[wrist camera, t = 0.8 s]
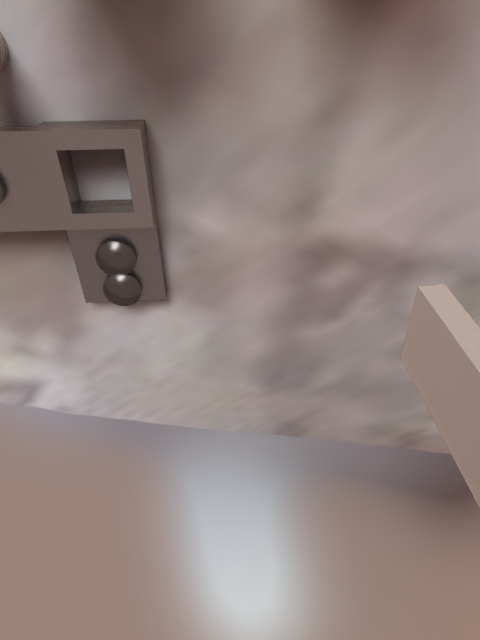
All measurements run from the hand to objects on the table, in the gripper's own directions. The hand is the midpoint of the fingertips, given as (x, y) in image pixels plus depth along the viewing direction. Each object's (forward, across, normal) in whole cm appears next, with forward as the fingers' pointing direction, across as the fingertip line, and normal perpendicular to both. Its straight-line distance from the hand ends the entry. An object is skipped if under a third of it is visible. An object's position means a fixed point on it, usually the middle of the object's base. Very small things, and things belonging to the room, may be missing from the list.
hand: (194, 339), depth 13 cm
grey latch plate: (+23, -8, -6) cm, 25 cm away
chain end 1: (+22, -12, -2) cm, 25 cm away
